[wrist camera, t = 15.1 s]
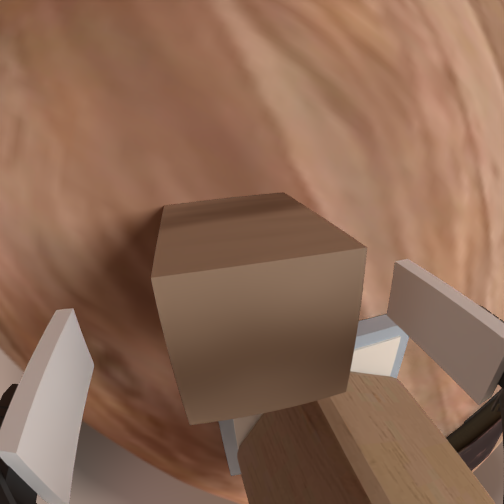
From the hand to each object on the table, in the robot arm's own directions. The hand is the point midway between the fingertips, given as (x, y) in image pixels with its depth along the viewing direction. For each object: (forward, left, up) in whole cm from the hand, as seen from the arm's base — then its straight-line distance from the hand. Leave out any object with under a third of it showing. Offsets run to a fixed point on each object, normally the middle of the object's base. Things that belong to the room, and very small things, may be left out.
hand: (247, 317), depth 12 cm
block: (+12, +5, -4) cm, 14 cm away
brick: (0, 0, -5) cm, 5 cm away
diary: (+44, +39, -6) cm, 58 cm away
